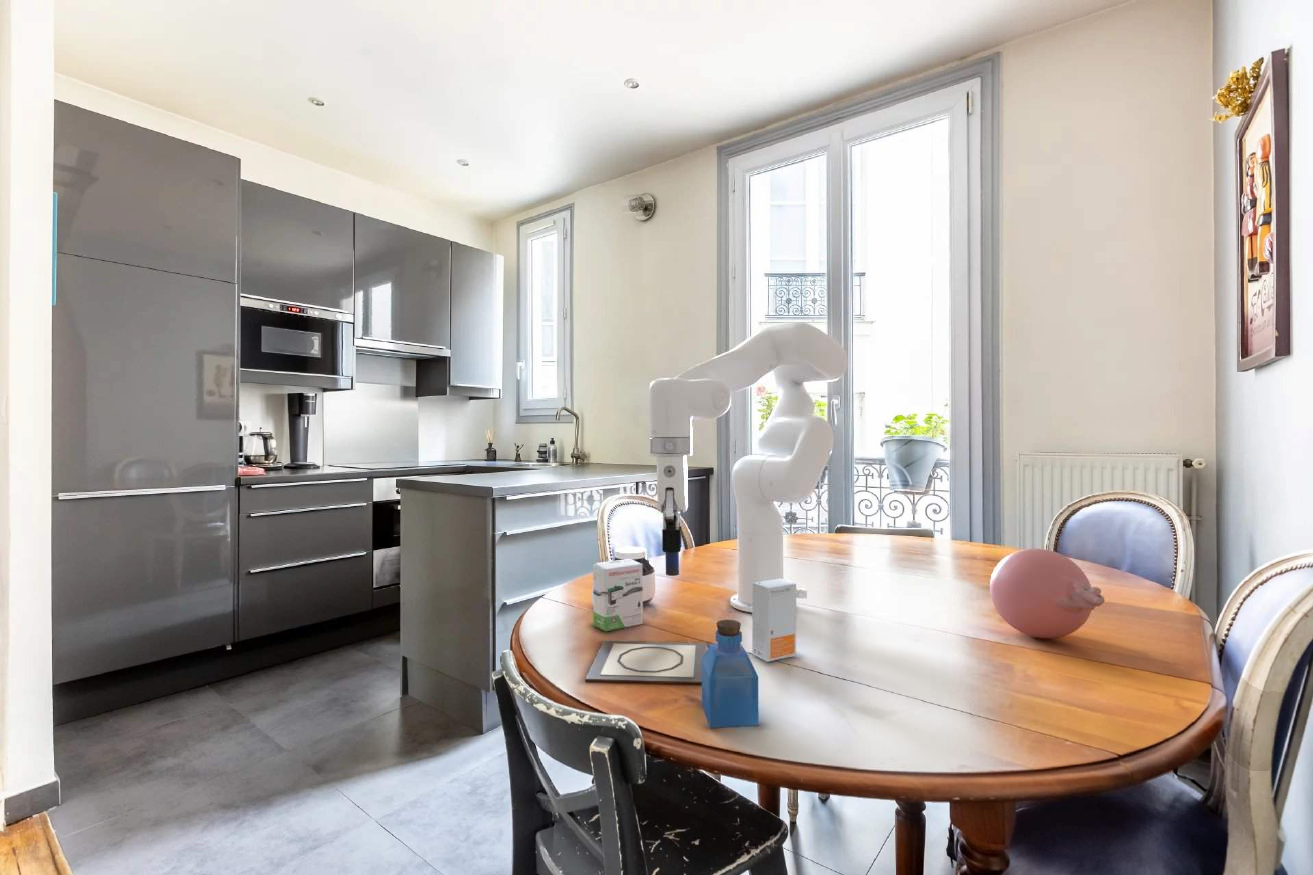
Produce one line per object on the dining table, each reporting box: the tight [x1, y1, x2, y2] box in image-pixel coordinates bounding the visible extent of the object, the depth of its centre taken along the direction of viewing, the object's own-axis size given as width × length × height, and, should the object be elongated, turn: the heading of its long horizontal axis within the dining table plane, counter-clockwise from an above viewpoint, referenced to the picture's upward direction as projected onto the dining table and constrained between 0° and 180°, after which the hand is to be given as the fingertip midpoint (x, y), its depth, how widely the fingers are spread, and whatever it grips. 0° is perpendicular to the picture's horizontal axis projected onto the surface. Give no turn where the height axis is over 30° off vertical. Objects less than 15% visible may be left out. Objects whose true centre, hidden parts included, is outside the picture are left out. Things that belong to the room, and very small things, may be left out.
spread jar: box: [590, 546, 657, 608], centre depth 127 cm, size 12×11×12 cm
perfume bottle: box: [701, 619, 760, 729], centre depth 79 cm, size 6×6×12 cm
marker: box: [664, 552, 680, 577], centre depth 109 cm, size 2×2×10 cm
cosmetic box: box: [751, 578, 797, 663], centre depth 99 cm, size 6×4×12 cm
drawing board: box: [584, 640, 708, 686], centre depth 97 cm, size 18×16×1 cm
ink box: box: [592, 559, 644, 632], centre depth 115 cm, size 9×5×12 cm, turn 123°
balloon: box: [989, 547, 1106, 639], centre depth 105 cm, size 15×20×15 cm
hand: (672, 549), depth 109 cm, fingers closed on marker, 2 cm apart
